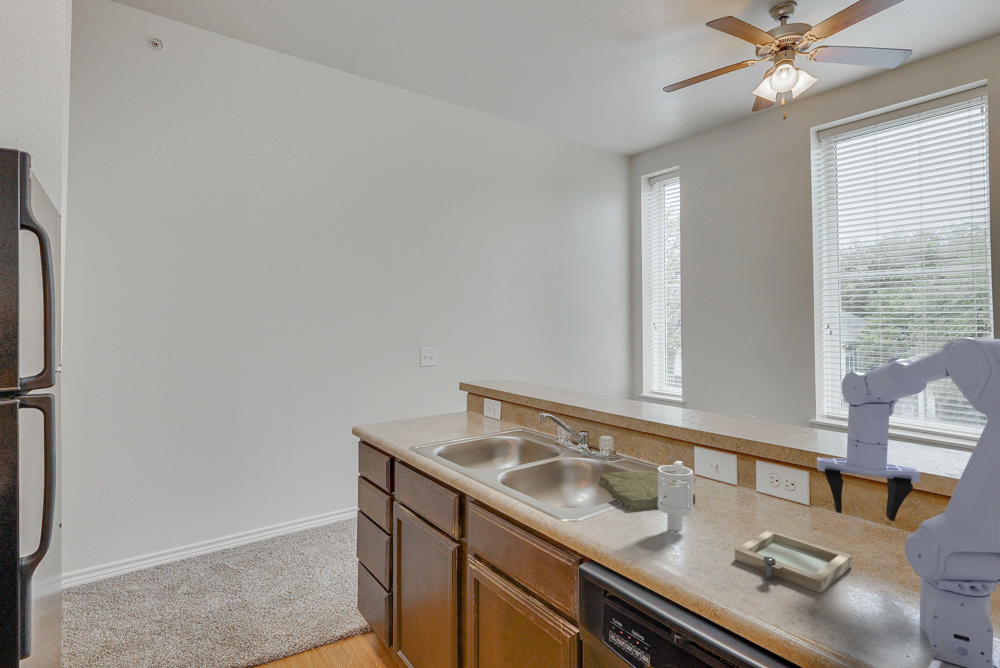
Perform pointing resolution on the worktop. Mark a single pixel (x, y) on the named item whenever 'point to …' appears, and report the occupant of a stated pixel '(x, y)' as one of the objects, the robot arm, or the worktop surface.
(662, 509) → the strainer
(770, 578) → the knob
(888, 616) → the worktop surface
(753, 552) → the picture frame
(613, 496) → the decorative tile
